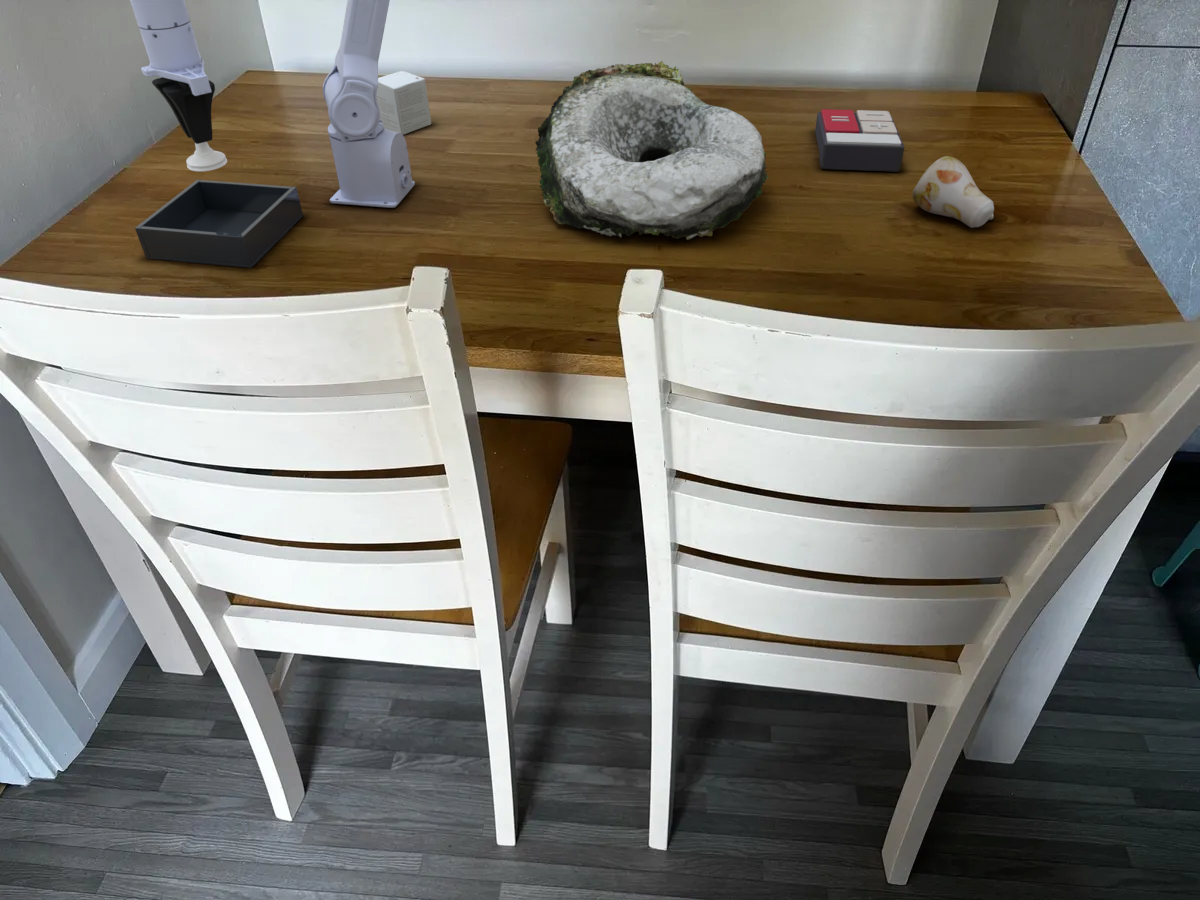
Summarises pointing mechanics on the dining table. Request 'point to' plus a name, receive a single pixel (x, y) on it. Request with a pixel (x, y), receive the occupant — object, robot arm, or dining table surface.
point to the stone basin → (646, 155)
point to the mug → (952, 193)
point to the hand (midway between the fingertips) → (199, 138)
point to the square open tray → (220, 223)
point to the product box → (403, 102)
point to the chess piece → (205, 158)
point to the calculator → (858, 140)
